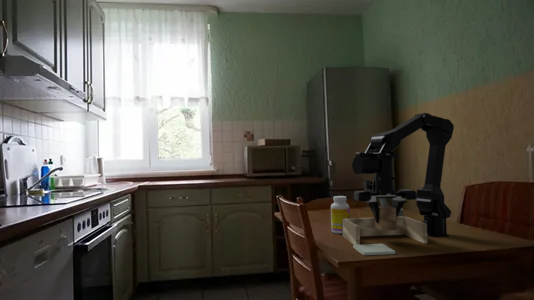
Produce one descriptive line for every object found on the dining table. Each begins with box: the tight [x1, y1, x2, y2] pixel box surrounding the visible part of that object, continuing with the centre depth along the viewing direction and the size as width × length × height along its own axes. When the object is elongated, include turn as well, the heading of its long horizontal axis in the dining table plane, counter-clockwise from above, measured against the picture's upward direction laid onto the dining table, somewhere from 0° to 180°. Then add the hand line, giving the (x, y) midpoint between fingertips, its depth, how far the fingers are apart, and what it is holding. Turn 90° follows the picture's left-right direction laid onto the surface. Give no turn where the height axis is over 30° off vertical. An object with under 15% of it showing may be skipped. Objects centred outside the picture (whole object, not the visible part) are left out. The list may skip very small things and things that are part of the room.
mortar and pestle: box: [378, 198, 404, 217], centre depth 142 cm, size 11×9×12 cm
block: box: [375, 205, 397, 231], centre depth 118 cm, size 5×5×7 cm
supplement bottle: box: [330, 195, 351, 235], centre depth 133 cm, size 7×7×13 cm
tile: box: [352, 243, 396, 256], centre depth 107 cm, size 9×9×1 cm
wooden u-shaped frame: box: [342, 215, 428, 245], centre depth 120 cm, size 22×14×6 cm, turn 94°
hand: (385, 222), depth 118 cm, fingers closed on block, 5 cm apart
